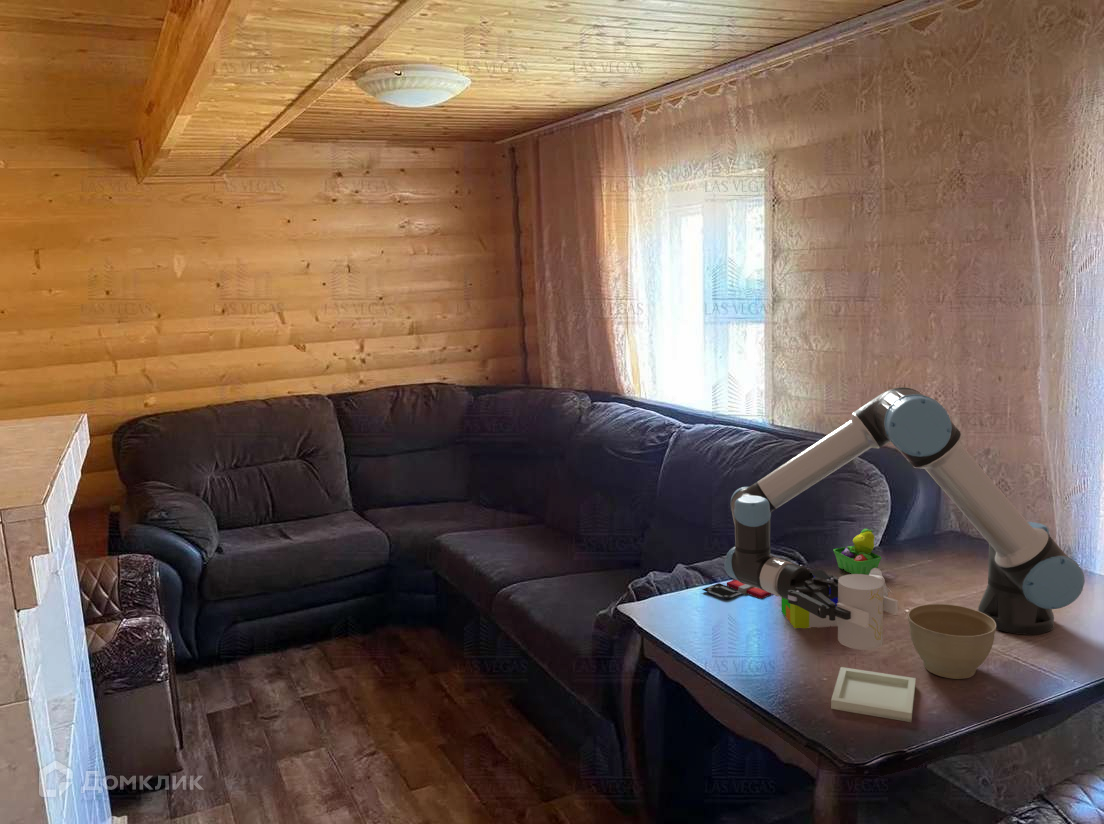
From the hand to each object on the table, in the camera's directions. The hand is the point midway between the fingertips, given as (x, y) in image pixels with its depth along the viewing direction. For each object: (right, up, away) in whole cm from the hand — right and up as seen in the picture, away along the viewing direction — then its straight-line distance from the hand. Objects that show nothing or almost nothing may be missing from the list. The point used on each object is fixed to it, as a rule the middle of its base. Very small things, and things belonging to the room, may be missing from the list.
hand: (882, 613), depth 160 cm
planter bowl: (+19, -15, +14) cm, 28 cm away
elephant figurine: (+17, -9, +50) cm, 53 cm away
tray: (0, -17, +4) cm, 18 cm away
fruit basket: (+20, -5, +69) cm, 72 cm away
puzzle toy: (-1, -11, +41) cm, 43 cm away
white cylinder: (-2, -7, +5) cm, 9 cm away
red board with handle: (-8, -8, +65) cm, 66 cm away
